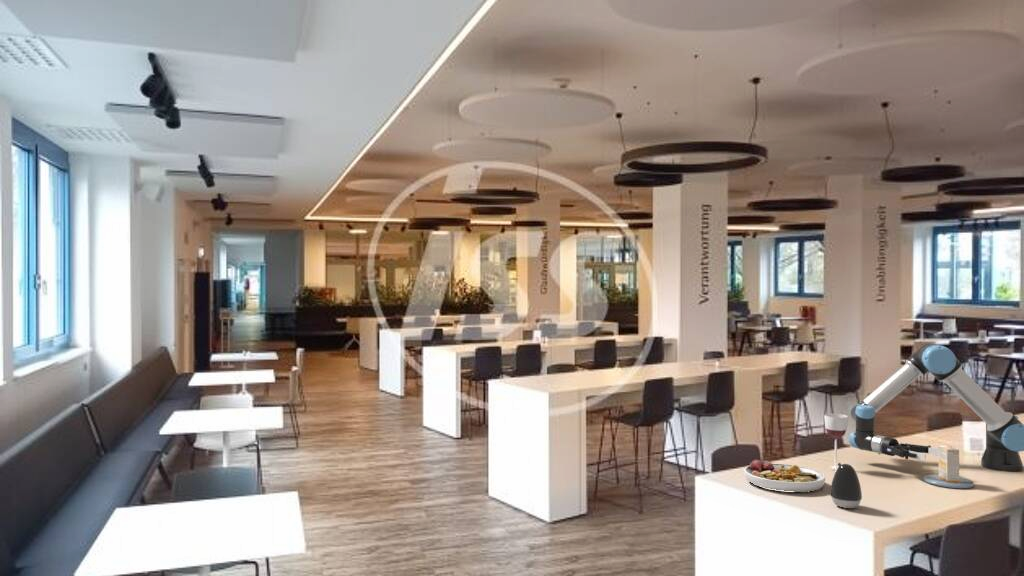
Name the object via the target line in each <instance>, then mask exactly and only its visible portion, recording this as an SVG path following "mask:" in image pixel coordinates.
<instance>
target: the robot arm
mask: <svg viewBox="0 0 1024 576" xmlns="http://www.w3.org/2000/svg"><path fill="white" fill-rule="evenodd" d="M928 373H930V374H931V375H932V376H933V377H934V378H935V379H936V380H937V381H938V382H944V383H945V384H946V385H948V387H949V388H950V389H951V390H952V391H953V392H954V393H955V394H956V395H958V397H959V398H960V399H961V400H962V401H963V402H964V403H966V405H967V406H968V407H969V408H970V409H971V410H972V411H973V412H974V413H975V414H976V415H977V416H978V417H979V418H980V419H981V420H982V421H983V422H985V449H984V452H983V454H982V456H981V458H980V459H981V461H980V465H981V466H983V467H984V468H988V469H991V470H997V471H1004V470H1005V471H1007V472H1020V470H1021V471H1023V470H1024V464H1023V461H1022V459H1021V456H1020V452H1024V424H1023V423H1022V421H1020V420H1019V416H1017V415H1016V414H1015V415H1014V414H1013V412H1009V411H1005V410H1004V409H1003V408H1002V407H1001V406H1000V405H999V404H998V403H997V402H996V401H995V400H994V399H993V398H992V397H991V396H990V395H989V394H988V393H987V392H986V391H985V390H984V389H983V388H981V386H980V385H978V383H977V382H976V381H975V380H974V379H973V378H971V377H970V375H969V374H967V372H966V371H965V370H963V363H962V362H961V361H960V360H959V359H958V358H957V357H956V355H955V353H954V352H953V350H950V348H948V347H946V346H944V345H940V344H935V343H926V344H924V345H922V346H920V347H919V348H918V349H916V351H915V352H913V353H912V354H911V355H910V356H909V357H908V358H906V360H905V363H904V365H902V366H901V367H900V368H899V369H897V370H896V371H895V372H894V373H893V374H892V375H890V376H889V377H888V378H887V379H886V380H885V381H883V383H881V384H880V385H879V386H878V387H876V388H875V389H874V390H873V391H872V392H871V393H869V394H868V395H867V397H865V398H864V399H863V400H862V401H860V402H858V404H855V405H853V406H852V407H851V408H850V412H849V413H850V416H851V419H852V420H853V421H854V422H855V430H854V431H851V433H850V434H849V438H848V439H849V444H850V446H851V447H852V448H854V449H859V450H861V451H866V452H871V453H872V452H873V453H876V454H878V455H879V456H880V455H881V454H882V455H886V456H890V457H894V456H897V457H899V458H903V459H905V460H909V459H913V460H914V459H915V460H919V461H924V462H926V461H927V454H928V455H932V456H936V457H939V448H934V447H932V446H931V445H929V444H927V445H921V444H912V443H903V442H902V443H901V442H900V443H899V441H898V440H897V439H896V438H894V437H889V436H885V435H878V434H875V420H876V419H875V417H876V414H877V413H878V412H879V411H880V410H881V409H882V408H883V407H885V406H886V405H887V404H889V402H890V401H891V400H893V399H894V398H895V397H896V396H898V395H899V394H900V393H901V392H902V391H903V390H904V389H906V388H907V387H908V386H909V385H910V384H911V383H912V382H915V380H917V379H918V378H919V377H924V376H926V374H928Z"/></svg>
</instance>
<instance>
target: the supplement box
mask: <svg viewBox="0 0 1024 576" xmlns="http://www.w3.org/2000/svg"><path fill="white" fill-rule="evenodd" d="M938 449H939V456H938V475H939V478H941V479H943V480H945V481H946V482H958V483H959V477H960V450H959V449H958V448H956V447H955V446H952V445H944V444H943V445H942V444H941V445H938Z"/></svg>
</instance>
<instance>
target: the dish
mask: <svg viewBox="0 0 1024 576" xmlns="http://www.w3.org/2000/svg"><path fill="white" fill-rule="evenodd" d="M923 480H924V482H925V483H928V484H931V485H934V486H938V487H943V488H944V487H945V488H950V489H951V488H952V489H971V488H973V487H974V486H975V484H974V482H973V480H971V479H967V478H964V477H960V476H959V483H958V482H946V481H945V480H943V479H941V478H939V474H927V475H924V476H923Z"/></svg>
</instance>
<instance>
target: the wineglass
mask: <svg viewBox="0 0 1024 576" xmlns="http://www.w3.org/2000/svg"><path fill="white" fill-rule="evenodd" d="M848 417H849V416H848V415H847V414H846V415H845V414H843V413H841V414H840V413H824V417H823V419H824V429H825V431H826V433H827V434H828V435H829V436H830V437H832V438H833V439H834V466H831V467H832V468H835V469H836V468H838V467H839V466H838V439H841V438H842V437H843V436H844V435H846V432H847V428H848V423H849V422H848V419H849V418H848Z"/></svg>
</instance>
